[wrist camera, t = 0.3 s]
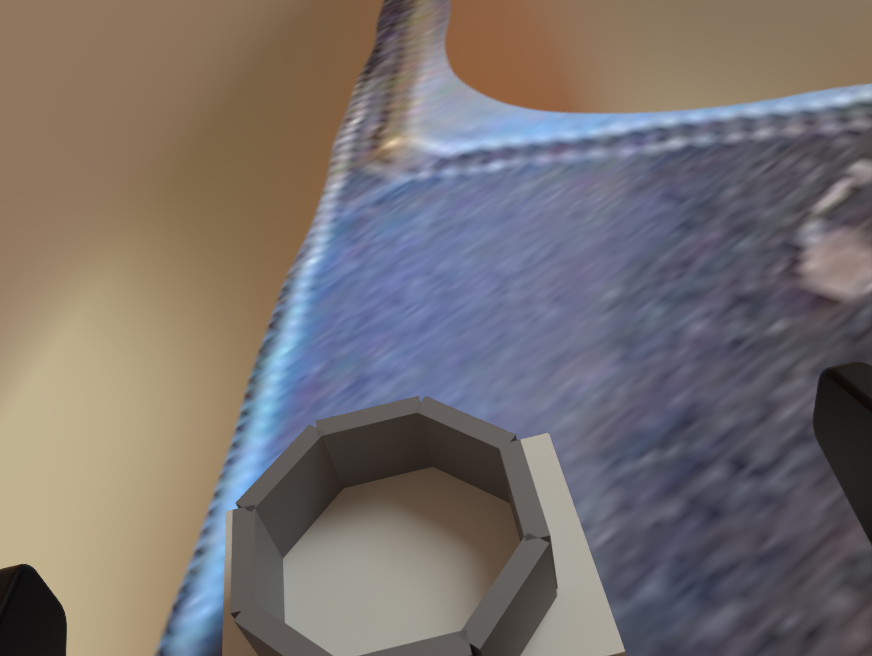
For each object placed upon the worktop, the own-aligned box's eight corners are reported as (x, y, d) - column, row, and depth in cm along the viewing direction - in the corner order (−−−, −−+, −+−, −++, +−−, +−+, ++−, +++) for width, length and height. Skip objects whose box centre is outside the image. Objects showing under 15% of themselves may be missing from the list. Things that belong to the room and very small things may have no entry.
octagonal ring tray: (634, 732, 22) (631, 615, 18) (268, 822, 22) (176, 727, 18) (556, 498, 28) (539, 366, 24) (265, 569, 28) (194, 450, 24)
